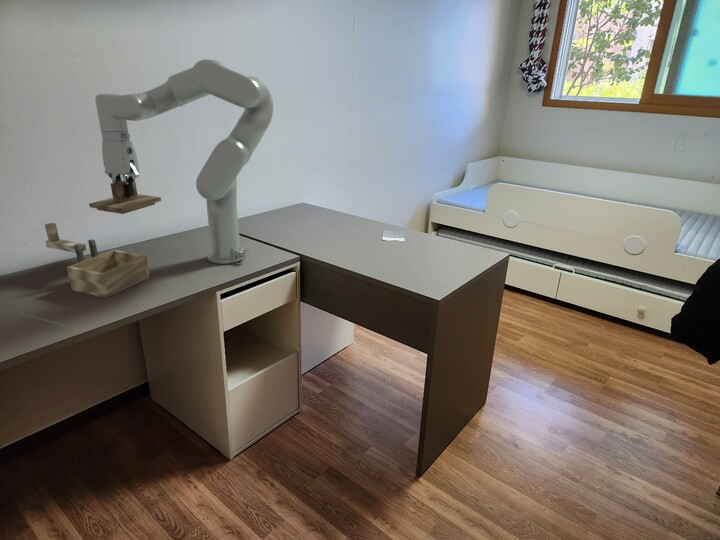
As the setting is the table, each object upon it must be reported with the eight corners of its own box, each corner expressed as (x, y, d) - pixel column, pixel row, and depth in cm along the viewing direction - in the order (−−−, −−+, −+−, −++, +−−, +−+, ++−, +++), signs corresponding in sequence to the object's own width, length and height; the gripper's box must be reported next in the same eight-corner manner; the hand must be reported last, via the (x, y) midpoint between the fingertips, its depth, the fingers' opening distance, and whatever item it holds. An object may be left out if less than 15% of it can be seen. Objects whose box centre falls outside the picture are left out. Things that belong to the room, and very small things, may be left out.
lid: (161, 203, 157) (158, 179, 154) (122, 215, 143) (117, 189, 140) (131, 199, 162) (127, 175, 158) (90, 210, 147) (85, 184, 144)
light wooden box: (149, 277, 143) (143, 241, 138) (106, 298, 129) (98, 258, 124) (112, 269, 148) (105, 234, 143) (66, 288, 134) (57, 250, 129)
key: (86, 250, 139) (81, 227, 136) (78, 253, 137) (73, 230, 134) (55, 244, 143) (50, 222, 141) (46, 247, 141) (41, 224, 138)
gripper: (145, 137, 144) (153, 195, 151) (105, 133, 150) (115, 190, 157) (126, 139, 138) (135, 200, 145) (85, 136, 143) (96, 195, 150)
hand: (125, 194), depth 151 cm, fingers closed on lid, 3 cm apart
